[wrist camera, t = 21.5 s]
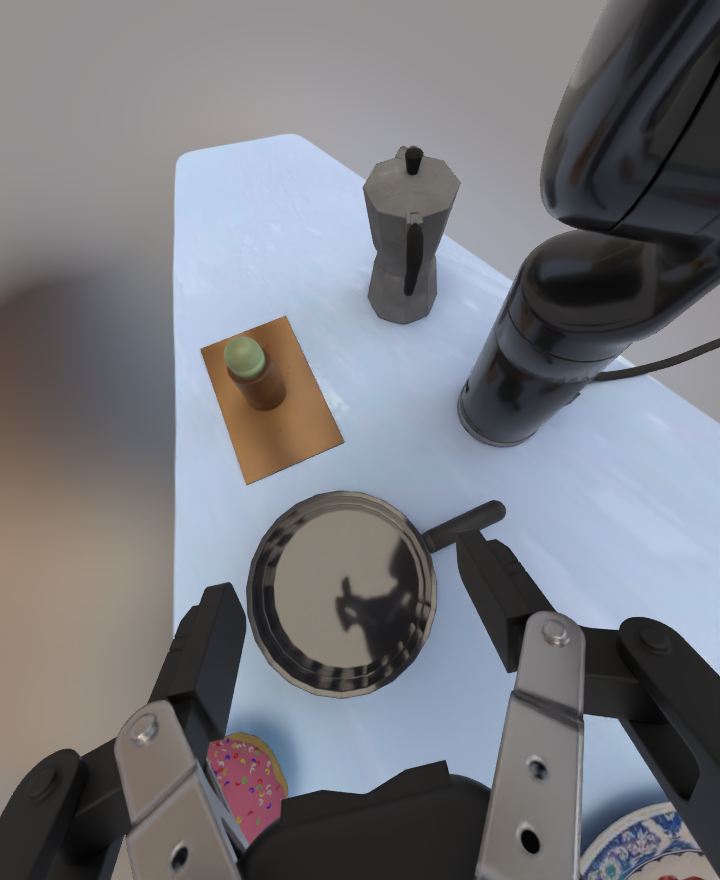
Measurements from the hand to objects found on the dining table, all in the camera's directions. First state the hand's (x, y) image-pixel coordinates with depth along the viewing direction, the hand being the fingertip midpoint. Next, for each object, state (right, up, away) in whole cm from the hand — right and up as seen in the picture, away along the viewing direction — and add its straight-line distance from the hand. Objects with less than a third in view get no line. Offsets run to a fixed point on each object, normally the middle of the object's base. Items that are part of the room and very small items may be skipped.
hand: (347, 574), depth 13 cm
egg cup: (-11, +10, +31) cm, 35 cm away
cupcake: (-9, -24, +19) cm, 32 cm away
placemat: (-11, +11, +32) cm, 35 cm away
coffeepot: (+6, +23, +36) cm, 43 cm away
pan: (-1, -10, +24) cm, 26 cm away
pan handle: (+10, -4, +23) cm, 25 cm away
